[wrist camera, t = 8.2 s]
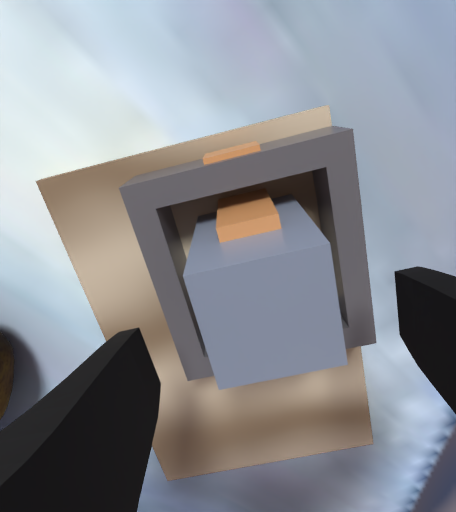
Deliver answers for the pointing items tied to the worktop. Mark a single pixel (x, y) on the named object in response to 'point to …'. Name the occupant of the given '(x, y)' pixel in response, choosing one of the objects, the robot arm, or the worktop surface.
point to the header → (242, 175)
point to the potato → (5, 372)
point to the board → (158, 334)
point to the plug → (264, 290)
